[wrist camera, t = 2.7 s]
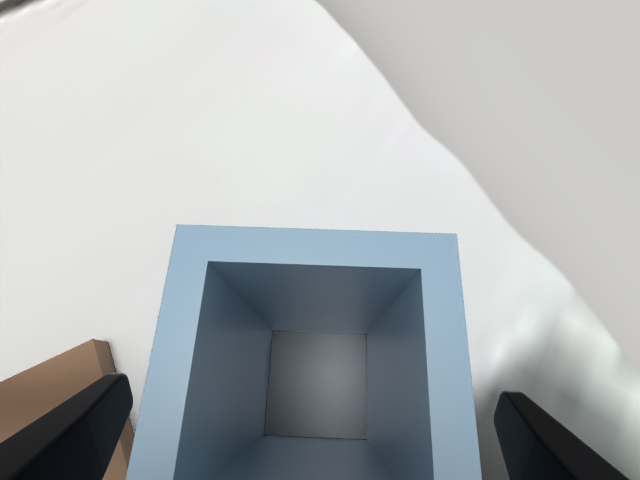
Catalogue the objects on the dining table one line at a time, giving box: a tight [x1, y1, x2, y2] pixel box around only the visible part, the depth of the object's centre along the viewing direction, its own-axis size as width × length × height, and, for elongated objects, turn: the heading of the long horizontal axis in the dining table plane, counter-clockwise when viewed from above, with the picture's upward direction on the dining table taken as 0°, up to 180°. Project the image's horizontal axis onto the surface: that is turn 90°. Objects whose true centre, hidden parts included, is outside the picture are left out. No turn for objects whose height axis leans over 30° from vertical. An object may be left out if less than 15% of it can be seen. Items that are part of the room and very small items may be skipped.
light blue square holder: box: [126, 224, 482, 480], centre depth 12 cm, size 8×8×10 cm
